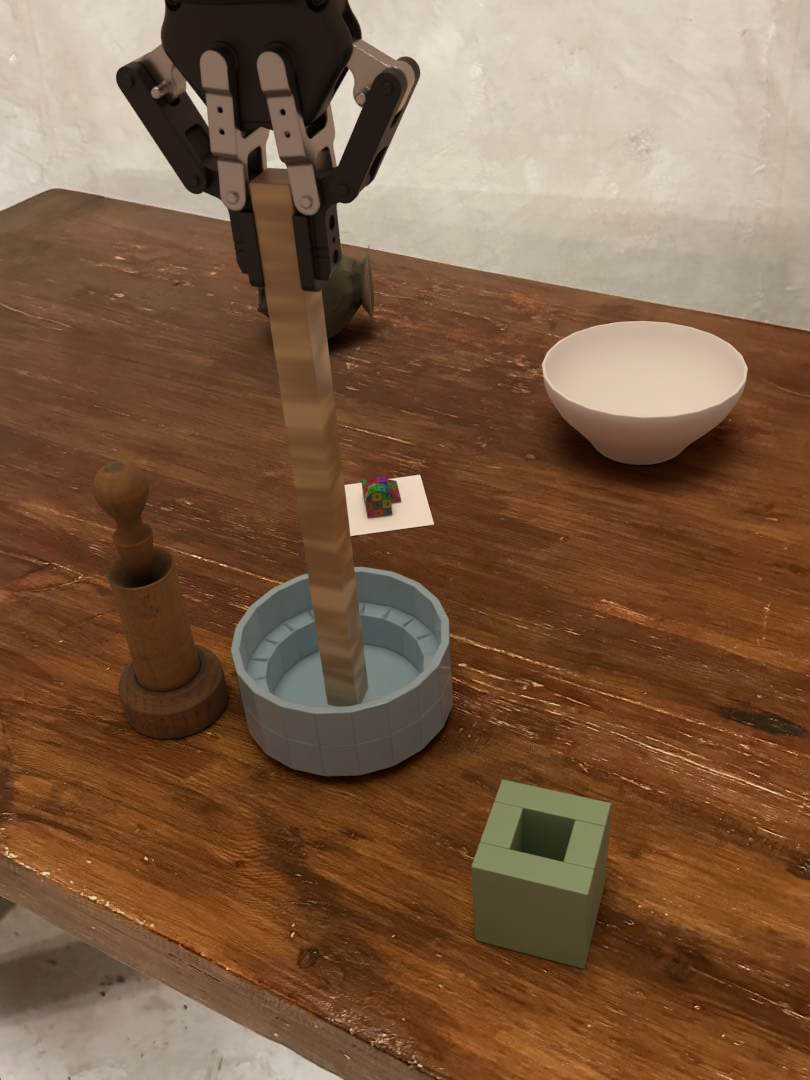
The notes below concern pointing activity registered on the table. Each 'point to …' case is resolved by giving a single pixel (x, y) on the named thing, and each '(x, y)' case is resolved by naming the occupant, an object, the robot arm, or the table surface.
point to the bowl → (643, 387)
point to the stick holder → (541, 872)
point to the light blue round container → (392, 671)
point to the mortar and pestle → (155, 621)
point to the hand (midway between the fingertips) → (292, 281)
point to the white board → (387, 505)
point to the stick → (311, 440)
